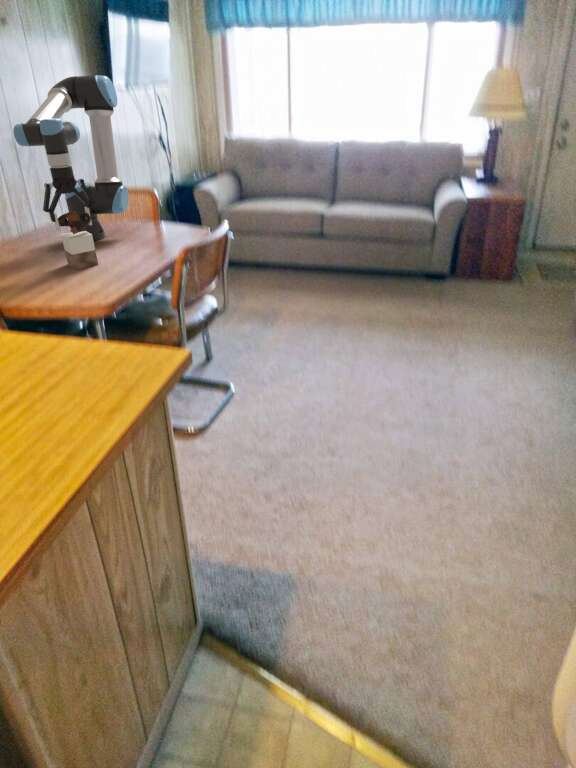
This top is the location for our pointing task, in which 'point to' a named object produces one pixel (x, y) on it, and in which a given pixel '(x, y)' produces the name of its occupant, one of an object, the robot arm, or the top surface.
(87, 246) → the tower top block
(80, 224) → the pottery mug
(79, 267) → the tower base block
